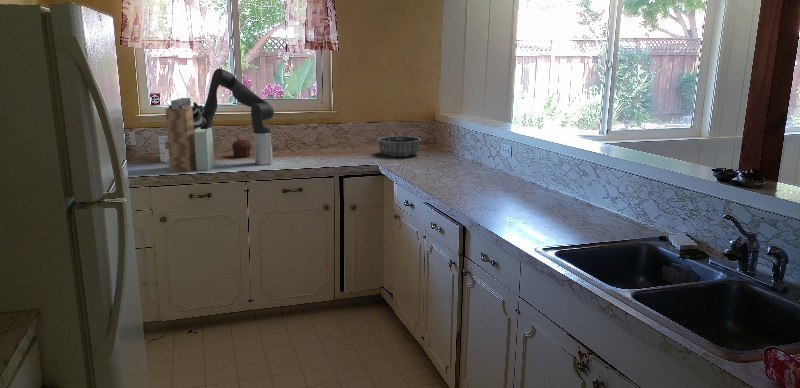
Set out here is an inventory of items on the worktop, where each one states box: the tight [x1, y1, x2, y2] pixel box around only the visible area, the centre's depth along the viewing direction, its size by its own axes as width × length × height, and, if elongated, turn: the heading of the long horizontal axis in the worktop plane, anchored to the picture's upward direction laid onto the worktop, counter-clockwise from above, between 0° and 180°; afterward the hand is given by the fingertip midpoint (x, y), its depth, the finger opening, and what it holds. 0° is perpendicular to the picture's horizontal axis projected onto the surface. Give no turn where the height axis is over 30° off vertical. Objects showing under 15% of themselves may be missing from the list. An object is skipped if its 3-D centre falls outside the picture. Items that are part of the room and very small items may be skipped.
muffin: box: [231, 138, 252, 159], centre depth 355 cm, size 12×11×10 cm
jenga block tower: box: [165, 104, 197, 172], centre depth 314 cm, size 10×12×34 cm
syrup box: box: [157, 134, 170, 163], centre depth 337 cm, size 6×6×14 cm
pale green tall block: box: [194, 127, 215, 171], centre depth 318 cm, size 6×12×21 cm, turn 3°
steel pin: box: [170, 97, 192, 109], centre depth 314 cm, size 4×20×4 cm, turn 3°
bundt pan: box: [376, 135, 422, 158], centre depth 368 cm, size 26×26×10 cm
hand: (186, 103), depth 323 cm, fingers open, 8 cm apart
